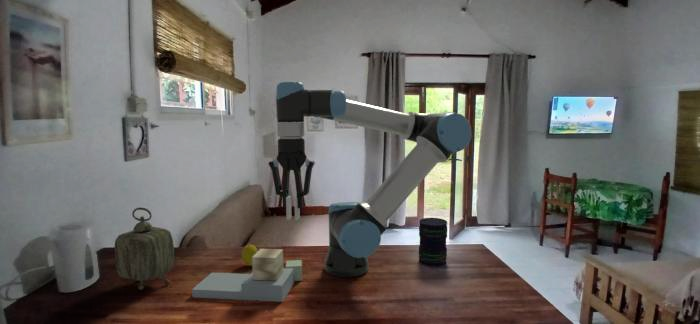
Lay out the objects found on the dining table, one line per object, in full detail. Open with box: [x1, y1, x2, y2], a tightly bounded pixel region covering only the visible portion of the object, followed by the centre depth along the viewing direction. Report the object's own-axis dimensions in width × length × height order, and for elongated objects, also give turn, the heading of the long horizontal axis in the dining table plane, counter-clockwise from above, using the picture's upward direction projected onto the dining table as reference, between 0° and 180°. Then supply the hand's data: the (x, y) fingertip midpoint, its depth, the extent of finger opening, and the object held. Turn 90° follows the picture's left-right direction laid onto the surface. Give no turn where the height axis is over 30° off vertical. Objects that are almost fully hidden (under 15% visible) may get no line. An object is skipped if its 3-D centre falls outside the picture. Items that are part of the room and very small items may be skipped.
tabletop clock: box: [114, 207, 175, 291], centre depth 113 cm, size 14×9×25 cm, turn 74°
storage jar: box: [418, 217, 448, 268], centre depth 132 cm, size 10×10×15 cm
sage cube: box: [285, 259, 303, 282], centre depth 120 cm, size 5×5×5 cm
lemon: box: [241, 243, 259, 267], centre depth 130 cm, size 6×6×8 cm
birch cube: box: [251, 248, 284, 281], centre depth 110 cm, size 7×7×7 cm
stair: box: [191, 267, 295, 303], centre depth 111 cm, size 27×12×5 cm, turn 83°
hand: (293, 218), depth 107 cm, fingers closed
